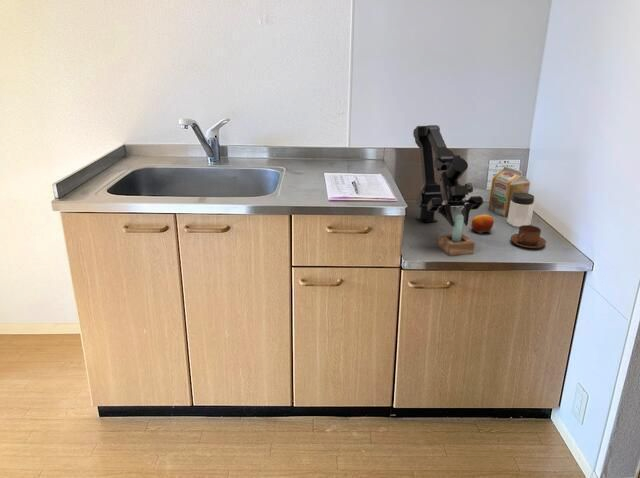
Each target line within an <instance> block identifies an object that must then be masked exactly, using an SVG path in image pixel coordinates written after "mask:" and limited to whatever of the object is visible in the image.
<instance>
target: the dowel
mask: <svg viewBox="0 0 640 478" xmlns="http://www.w3.org/2000/svg"><path fill="white" fill-rule="evenodd" d="M463 220H464V217H463V215H462V213H461V212H460V213H455V214H454V216H453V222H454V226H453V227H452V232H451V234H452V242H461V236H462V234H463V226H464V221H463Z"/></svg>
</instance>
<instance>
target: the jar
mask: <svg viewBox="0 0 640 478" xmlns="http://www.w3.org/2000/svg"><path fill="white" fill-rule="evenodd" d="M534 207H535V196H534V195H533V194H530V193H529V192H528V193H514V194H513V195H512V200H511V201H510V207H509V213H508V217H507V219H506V220H507V221H506V222H507V224H509V225H511V226H512V227H516V228H517V227H518V228H519V227H520V226H523V225H530V226H532V225H531V224H532V217H533V213H534Z"/></svg>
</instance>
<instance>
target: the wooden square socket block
mask: <svg viewBox="0 0 640 478" xmlns="http://www.w3.org/2000/svg"><path fill="white" fill-rule="evenodd" d="M475 243H476V242H475V241H473V240H472V239H470V238H469V237H468V236H466V235H465V234H463V233H462V236H461V242H452V233H449V234H442V235H438V240H437V247H439V248H440V249H441V250H442V251H443V252H445V253H446V254H447V255H449V256H451V257H453V256H459V255H467V254H468V255H469V254H474V251H475V250H474V249H475Z"/></svg>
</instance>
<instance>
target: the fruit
mask: <svg viewBox="0 0 640 478" xmlns="http://www.w3.org/2000/svg"><path fill="white" fill-rule="evenodd" d="M494 222H495V219H494V218H493V217H492V216H491V215H489V214H478V215H476V216H475V217H473V218H472V219H471V228H472V230H473V232H475V233H476V232H477V233H479V234H482V233H489V234H491V230H492V228H493V226H494Z"/></svg>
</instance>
